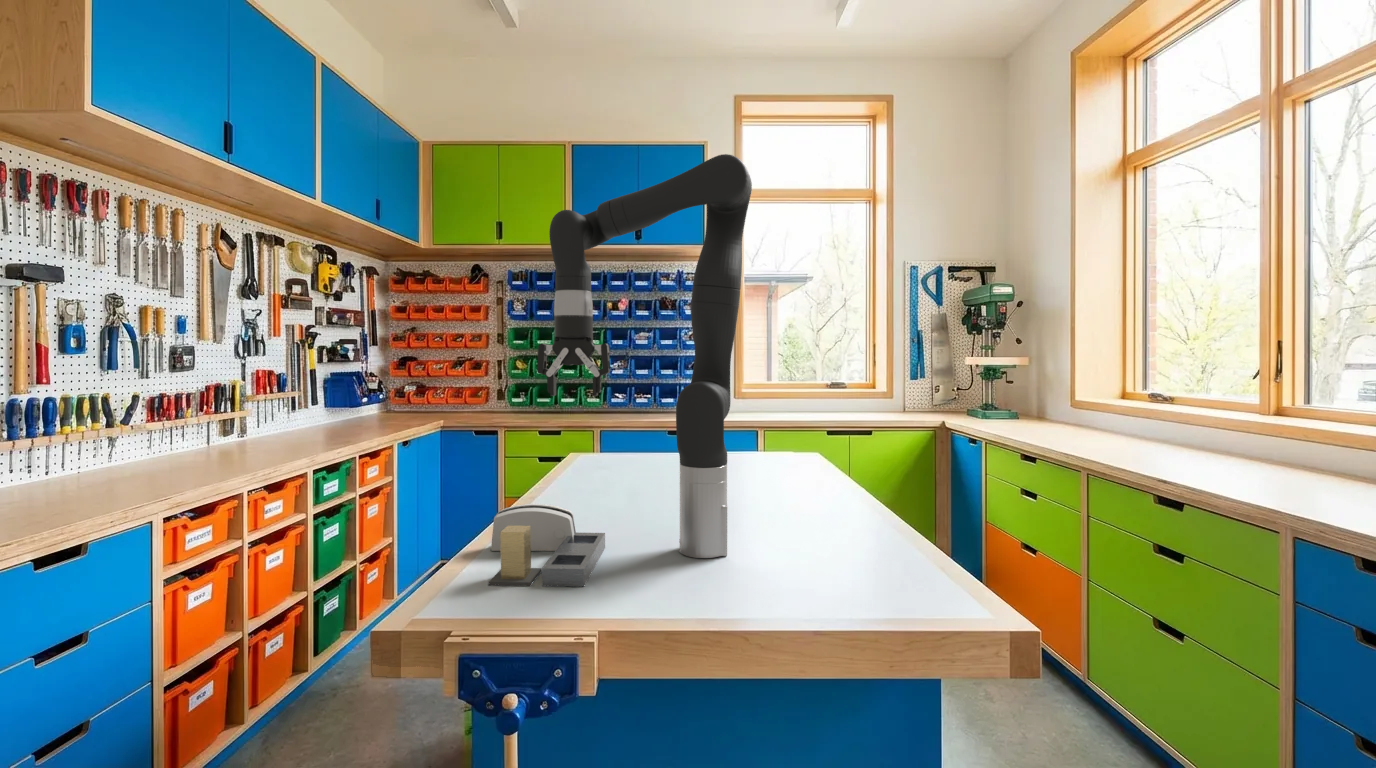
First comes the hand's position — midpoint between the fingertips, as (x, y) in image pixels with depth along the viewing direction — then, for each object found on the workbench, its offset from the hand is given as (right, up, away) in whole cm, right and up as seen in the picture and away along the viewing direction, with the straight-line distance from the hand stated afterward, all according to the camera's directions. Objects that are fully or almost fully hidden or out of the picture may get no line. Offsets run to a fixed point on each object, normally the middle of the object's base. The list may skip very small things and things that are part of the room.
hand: (574, 395), depth 127 cm
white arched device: (-7, -31, -2) cm, 32 cm away
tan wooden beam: (-7, -31, -18) cm, 36 cm away
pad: (-7, -31, -18) cm, 37 cm away
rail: (+3, -31, -11) cm, 33 cm away
